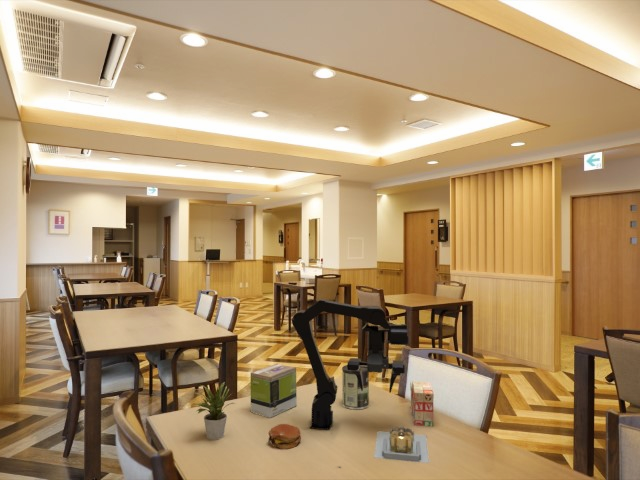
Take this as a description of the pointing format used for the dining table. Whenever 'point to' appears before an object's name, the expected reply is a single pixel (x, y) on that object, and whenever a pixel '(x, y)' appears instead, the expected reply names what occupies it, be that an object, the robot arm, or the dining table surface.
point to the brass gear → (401, 442)
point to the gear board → (417, 456)
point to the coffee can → (355, 390)
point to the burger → (284, 436)
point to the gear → (402, 430)
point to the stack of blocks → (422, 403)
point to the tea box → (273, 390)
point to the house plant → (214, 413)
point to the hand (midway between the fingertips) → (376, 391)
